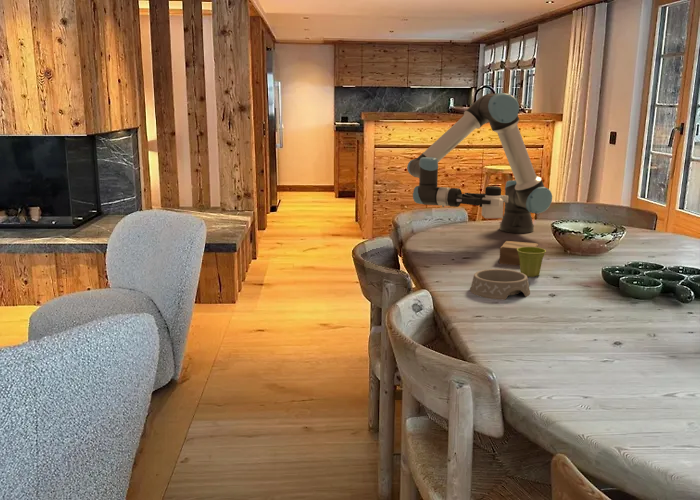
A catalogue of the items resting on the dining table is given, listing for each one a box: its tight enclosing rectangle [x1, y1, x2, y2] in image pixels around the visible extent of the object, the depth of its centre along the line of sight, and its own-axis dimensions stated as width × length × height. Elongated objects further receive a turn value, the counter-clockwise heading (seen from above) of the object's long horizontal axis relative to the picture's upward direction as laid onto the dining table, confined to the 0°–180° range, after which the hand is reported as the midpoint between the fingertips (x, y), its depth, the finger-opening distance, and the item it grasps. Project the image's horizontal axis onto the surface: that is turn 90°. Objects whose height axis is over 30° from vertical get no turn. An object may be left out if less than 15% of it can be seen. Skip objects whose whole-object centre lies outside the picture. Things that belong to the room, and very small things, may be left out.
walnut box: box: [498, 240, 539, 266], centre depth 228 cm, size 12×12×6 cm
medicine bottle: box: [481, 185, 505, 219], centre depth 244 cm, size 7×7×12 cm
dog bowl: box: [469, 268, 531, 301], centre depth 192 cm, size 17×18×5 cm
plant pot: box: [517, 246, 547, 278], centre depth 210 cm, size 9×9×9 cm
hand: (503, 200), depth 241 cm, fingers closed on medicine bottle, 9 cm apart
